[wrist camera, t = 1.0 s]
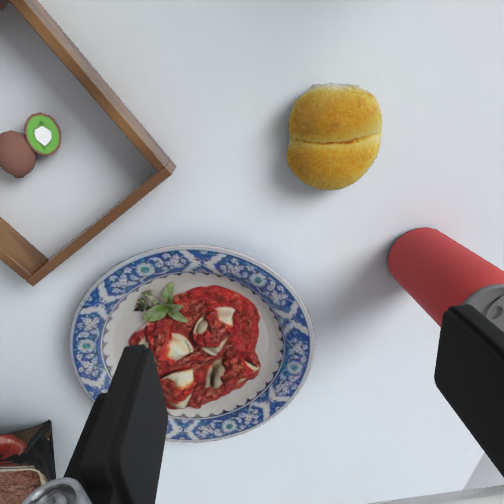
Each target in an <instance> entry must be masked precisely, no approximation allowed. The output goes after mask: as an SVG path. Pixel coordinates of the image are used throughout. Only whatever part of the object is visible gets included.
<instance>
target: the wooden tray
mask: <svg viewBox="0 0 504 504" xmlns="http://www.w3.org/2000/svg"><path fill="white" fill-rule="evenodd" d="M9 2H11V3H12V4H13V5H14V7H15V8H16V9H17V10H18V11H19V12H20V14H21V15H22V16H23V17H24V18H25V19H26V20H27V22H28V23H29V24H30V25H31V26H32V27H33V29H34V30H35V31H36V32H37V33H38V34H39V35H40V37H41V38H42V39H43V40H44V41H45V42H46V44H47V45H48V46H49V47H50V48H51V49H52V50H53V52H54V53H55V54H56V55H57V56H58V57H59V59H60V60H61V61H62V62H63V63H64V64H65V65H66V67H67V68H68V69H69V70H70V71H71V72H72V74H73V75H74V76H75V77H76V78H77V79H78V80H79V82H80V83H81V84H82V85H83V86H84V87H85V89H86V90H87V91H88V92H89V93H90V94H91V95H92V97H93V98H94V99H95V100H96V101H97V102H98V104H99V105H100V106H101V107H102V108H103V109H104V110H105V112H106V113H107V114H108V115H109V116H110V117H111V119H112V120H113V121H114V122H115V123H116V124H117V125H118V127H119V128H120V129H121V130H122V131H123V132H124V134H125V135H126V136H127V137H128V138H129V139H130V140H131V142H132V143H133V144H134V145H135V146H136V147H137V149H138V150H139V151H140V152H141V153H142V154H143V155H144V157H145V158H146V159H147V160H148V161H149V162H150V164H151V165H152V166H153V167H154V168H155V169H156V170H157V171H156V172H155V173H154V174H152V175H151V176H150V177H149V178H148V179H146V180H145V181H144V182H143V183H141V184H140V185H139V186H138V187H137V188H135V189H134V190H133V191H132V192H130V193H129V194H128V195H127V196H126V197H124V198H123V199H122V200H121V201H119V202H118V203H117V204H116V205H115V206H113V207H112V208H111V209H110V210H108V211H107V212H106V213H105V214H104V215H102V216H101V217H100V218H99V219H98V220H96V221H95V222H94V223H93V224H91V225H90V226H89V227H88V228H87V229H85V230H84V231H83V232H82V233H80V234H79V235H78V236H77V237H76V238H74V239H73V240H72V241H71V242H69V243H68V244H67V245H66V246H65V247H63V248H62V249H61V250H60V251H58V252H57V253H56V254H55V255H54V256H52V257H51V258H50V259H49V260H48V259H47V258H46V257H45V256H44V255H43V254H41V253H40V252H39V251H38V250H37V249H36V248H35V247H34V246H32V245H31V244H30V243H29V242H28V241H27V240H26V239H25V238H24V237H22V236H21V235H20V234H19V233H18V232H17V231H16V230H15V229H13V228H12V227H11V226H10V225H9V224H8V223H7V222H6V221H4V220H3V219H2V218H1V217H0V259H1V260H2V261H3V262H4V263H6V264H7V265H8V266H9V267H10V268H11V269H13V270H14V271H15V272H16V273H17V274H19V275H20V276H21V277H22V278H23V279H25V280H26V281H27V282H28V283H29V284H30V285H32V286H34V285H35V284H37V283H38V282H39V281H40V280H42V279H43V278H44V277H45V276H46V275H48V274H49V273H50V272H51V271H53V270H54V269H55V268H56V267H58V266H59V265H60V264H61V263H63V262H64V261H65V260H66V259H67V258H69V257H70V256H71V255H72V254H74V253H75V252H76V251H77V250H79V249H80V248H81V247H82V246H84V245H85V244H86V243H87V242H89V241H90V240H91V239H92V238H93V237H95V236H96V235H97V234H98V233H100V232H101V231H102V230H103V229H105V228H106V227H107V226H108V225H110V224H111V223H112V222H113V221H114V220H116V219H117V218H118V217H119V216H121V215H122V214H123V213H124V212H126V211H127V210H128V209H129V208H131V207H132V206H133V205H134V204H136V203H137V202H138V201H139V200H140V199H142V198H143V197H144V196H145V195H147V194H148V193H149V192H150V191H152V190H153V189H154V188H155V187H157V186H158V185H159V184H160V183H161V182H163V181H164V180H165V179H166V178H168V177H169V176H170V175H171V174H172V173H173V171H174V170H175V168H176V165H175V164H174V163H173V162H172V161H171V160H170V158H169V157H168V156H167V155H166V153H165V152H164V151H163V150H162V149H161V147H160V146H159V145H158V144H157V143H156V142H155V140H154V139H153V138H152V137H151V136H150V134H149V133H148V132H147V131H146V130H145V128H144V127H143V126H142V125H141V124H140V122H139V121H138V120H137V119H136V118H135V116H134V115H133V114H132V113H131V112H130V110H129V109H128V108H127V107H126V106H125V105H124V103H123V102H122V101H121V100H120V99H119V97H118V96H117V95H116V94H115V93H114V91H113V90H112V89H111V88H110V87H109V85H108V84H107V83H106V82H105V81H104V79H103V78H102V77H101V76H100V75H99V74H98V72H97V71H96V70H95V69H94V68H93V66H92V65H91V64H90V63H89V62H88V60H87V59H86V58H85V57H84V56H83V54H82V53H81V52H80V51H79V50H78V48H77V47H76V46H75V45H74V44H73V42H72V41H71V40H70V39H69V38H68V37H67V35H66V34H65V33H64V32H63V31H62V29H61V28H60V27H59V26H58V25H57V23H56V22H55V21H54V20H53V19H52V17H51V16H50V15H49V14H48V13H47V11H46V10H45V9H44V8H43V7H42V5H41V4H40V3H39V2H38V1H37V0H0V11H1V10H2V9H3V8H4V7H5V6H6V5H7V4H8V3H9Z"/></svg>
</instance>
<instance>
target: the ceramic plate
mask: <svg viewBox="0 0 504 504" xmlns="http://www.w3.org/2000/svg"><path fill="white" fill-rule="evenodd" d="M140 344H144V345H145V346H146V348H151V349H152V351H153V355H154V359H155V363H156V367H157V371H158V375H159V379H160V383H161V387H162V391H163V395H164V399H165V403H166V407H167V411H168V425H167V432H166V438H165V440H167V441H176V442H191V443H198V442H208V441H216V440H222V439H226V438H231V437H234V436H237V435H240V434H243V433H246V432H248V431H251V430H253V429H255V428H257V427H259V426H261V425H263V424H264V423H266V422H267V421H269V420H271V419H272V418H273V417H275V416H276V415H277V414H279V413H280V412H281V411H282V410H283V409H284V408H286V407H287V406H288V405H289V403H290V402H291V401H292V400H293V399H294V398H295V397H296V395H297V394H298V393H299V391H300V390H301V388H302V386H303V385H304V383H305V381H306V379H307V377H308V374H309V371H310V369H311V365H312V361H313V356H314V332H313V327H312V323H311V319H310V316H309V314H308V311H307V309H306V307H305V305H304V303H303V301H302V300H301V298H300V297H299V295H298V294H297V292H296V291H295V290H294V289H293V288H292V286H291V285H290V284H289V283H288V282H287V281H286V280H285V279H284V278H283V277H282V276H281V275H279V274H278V273H277V272H275V271H274V270H273V269H271V268H270V267H269V266H267V265H266V264H264V263H262V262H260V261H258V260H256V259H254V258H252V257H250V256H248V255H245V254H242V253H240V252H237V251H233V250H230V249H226V248H221V247H216V246H209V245H175V246H168V247H162V248H157V249H154V250H150V251H147V252H144V253H141V254H139V255H136V256H133V257H131V258H129V259H127V260H125V261H123V262H122V263H120V264H118V265H117V266H115V267H114V268H112V269H111V270H109V271H108V272H107V273H106V274H104V275H103V276H102V277H101V278H100V279H99V280H98V281H97V282H96V283H95V284H94V285H93V286H92V287H91V288H90V289H89V291H88V292H87V293H86V295H85V296H84V298H83V300H82V301H81V303H80V305H79V306H78V308H77V311H76V313H75V315H74V319H73V322H72V325H71V331H70V345H69V348H70V356H71V361H72V365H73V368H74V371H75V374H76V376H77V378H78V381H79V383H80V384H81V386H82V388H83V389H84V391H85V393H86V394H87V395H88V396H89V398H90V399H91V400H92V401H93V402H95V400H96V398H97V396H98V395H99V394H100V393H107V391H108V388H109V386H110V383H111V381H112V378H113V375H114V373H115V370H116V368H117V365H118V362H119V360H120V357H121V355H122V352H123V349H124V348H125V347H126V346H131V345H140Z"/></svg>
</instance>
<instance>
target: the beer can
mask: <svg viewBox="0 0 504 504" xmlns="http://www.w3.org/2000/svg"><path fill="white" fill-rule="evenodd" d="M388 267H389V270H390V273H391V275H392V276H393V277H394V278H395V280H396V281H397V282H398V283H399V284H400V285H401V286H402V287H403V288H404V289H405V290H406V291H407V292H408V293H409V294H410V295H411V296H412V298H413V299H414V300H415V301H416V302H417V303H418V304H419V305H420V306H421V307H422V308H423V309H424V310H425V311H426V312H427V313H428V314H429V315H430V317H431V318H432V319H433V320H434V321H435V322H436V323H437V324H438V325H439V326H440V327H441V324H442V317H443V313H444V312H446V311H447V310H448V308H449V307H450V306H456V305H464V304H470V305H472V306H473V307H474V308H475V309H477V310H478V311H479V312H480V313H481V314H483V315H484V316H485V317H486V318H487V319H488V320H490V321H491V322H492V323H493V324H494V325H496V326H497V327H498V328H499V329H500V330H502V331H503V332H504V271H502V270H501V269H499V268H498V267H496V266H494V265H493V264H491V263H490V262H488V261H486V260H485V259H483V258H481V257H480V256H478V255H477V254H475V253H473V252H472V251H470V250H469V249H467V248H465V247H464V246H462V245H461V244H459V243H457V242H456V241H454V240H452V239H451V238H449V237H448V236H446V235H444V234H443V233H441V232H440V231H438V230H436V229H432V228H427V227H426V228H417V229H414V230H411V231H409V232H406V233H405V234H404V235H402V236H401V237H400V238H399V239H398V240H397V241H396V242H395V244H394V245H393V246H392V248H391V251H390V253H389V256H388Z"/></svg>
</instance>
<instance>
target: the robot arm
mask: <svg viewBox="0 0 504 504" xmlns="http://www.w3.org/2000/svg"><path fill="white" fill-rule="evenodd" d="M434 379H435V383H436V386H437V388H438V389H439V390H440V392H441V393H442V394H443V396H444V397H445V399H446V400H447V401H448V403H449V404H450V405H451V407H452V408H453V409H454V411H455V412H456V413H457V415H458V416H459V418H460V419H461V420H462V422H463V423H464V424H465V426H466V427H467V428H468V430H469V431H470V432H471V434H472V435H473V437H474V438H475V439H476V441H477V442H478V443H479V445H480V446H481V447H482V449H483V450H484V451H485V453H486V454H487V455H488V457H489V458H490V459H491V461H492V462H493V463H494V465H495V466H496V468H497V469H498V470H499V472H500V473H501V474H502V476H503V477H504V332H503V331H502V330H500V329H499V328H498V327H497V326H496V325H494V324H493V323H492V322H491V321H490V320H488V319H487V318H486V317H485V316H484V315H483V314H481V313H480V312H479V311H478V310H477V309H475V308H474V307H473V306H472V305H470V304H464V305H456V306H450V307H449V308H448V310H447V311H446V312H444V313H443V317H442V324H441V331H440V338H439V345H438V353H437V360H436V367H435V374H434ZM167 425H168V411H167V407H166V403H165V399H164V395H163V391H162V387H161V383H160V379H159V375H158V371H157V367H156V363H155V359H154V355H153V351H152V349H151V348H146V346H145V345H144V344H140V345H131V346H126V347H125V348H124V349H123V352H122V355H121V357H120V360H119V362H118V365H117V368H116V370H115V373H114V375H113V378H112V381H111V383H110V386H109V388H108V391H107V393H100V394H99V395H98V396H97V398H96V400H95V402H94V404H93V407H92V409H91V412H90V414H89V416H88V419H87V421H86V424H85V426H84V429H83V431H82V433H81V436H80V438H79V441H78V443H77V446H76V448H75V450H74V453H73V455H72V458H71V460H70V462H69V465H68V467H67V470H66V472H65V475H64V477H63V478H58V479H55V480H51V481H49V482H47V483H45V484H44V485H42V486H40V487H38V488H37V489H36V490H35V491H34V492H32V493H31V494H30V495H29V496H28V497H27V498H26V499H25V501H24V502H23V503H22V504H155V499H156V493H157V487H158V481H159V474H160V468H161V462H162V456H163V450H164V444H165V438H166V432H167ZM369 504H504V485H501V486H493V487H486V488H478V489H471V490H463V491H456V492H448V493H441V494H434V495H426V496H419V497H412V498H405V499H398V500H390V501H383V502H376V503H369Z"/></svg>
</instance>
